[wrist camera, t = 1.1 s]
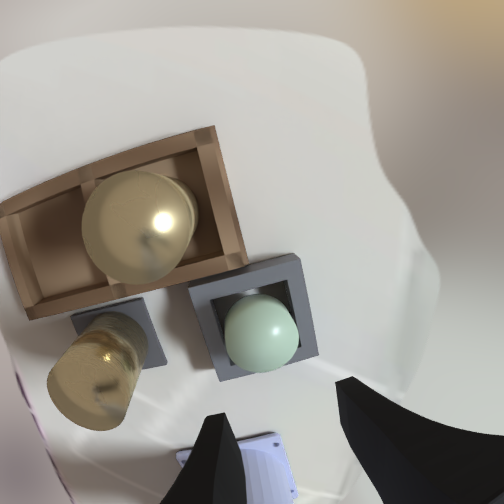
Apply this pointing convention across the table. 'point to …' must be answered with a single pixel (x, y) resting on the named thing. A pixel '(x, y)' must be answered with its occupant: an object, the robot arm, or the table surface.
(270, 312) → the button
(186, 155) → the brown wooden tray
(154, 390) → the table surface
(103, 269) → the brass round-topped piece
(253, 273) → the button housing
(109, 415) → the cylinder
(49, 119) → the table surface
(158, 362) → the mat
